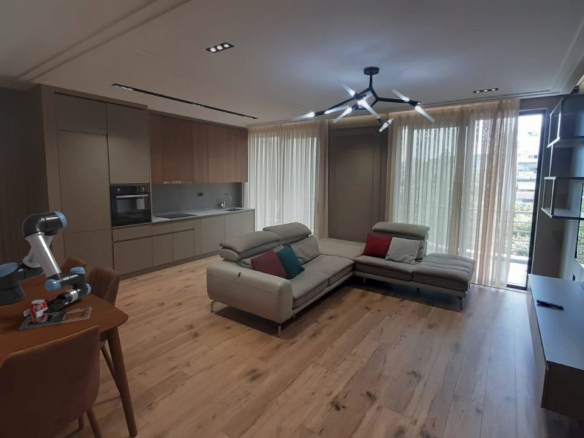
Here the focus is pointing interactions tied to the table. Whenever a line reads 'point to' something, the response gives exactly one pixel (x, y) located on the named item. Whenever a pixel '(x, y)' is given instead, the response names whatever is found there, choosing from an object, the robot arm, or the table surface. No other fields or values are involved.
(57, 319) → the rail frame
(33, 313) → the soda can
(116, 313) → the table surface
